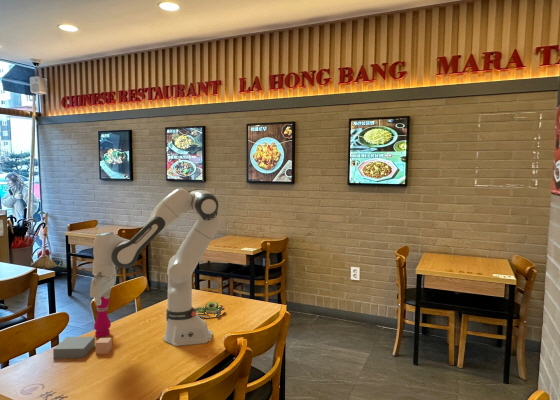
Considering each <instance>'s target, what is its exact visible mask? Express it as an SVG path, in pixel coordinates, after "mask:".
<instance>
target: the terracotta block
mask: <svg viewBox="0 0 560 400" xmlns="http://www.w3.org/2000/svg"><path fill="white" fill-rule="evenodd" d="M112 340H113V339H112V337H98V339H97V340H96V341H95V355H108V354H109V353H110V351H112V348H113V346H112V345H113V343H112V342H113V341H112Z"/></svg>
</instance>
